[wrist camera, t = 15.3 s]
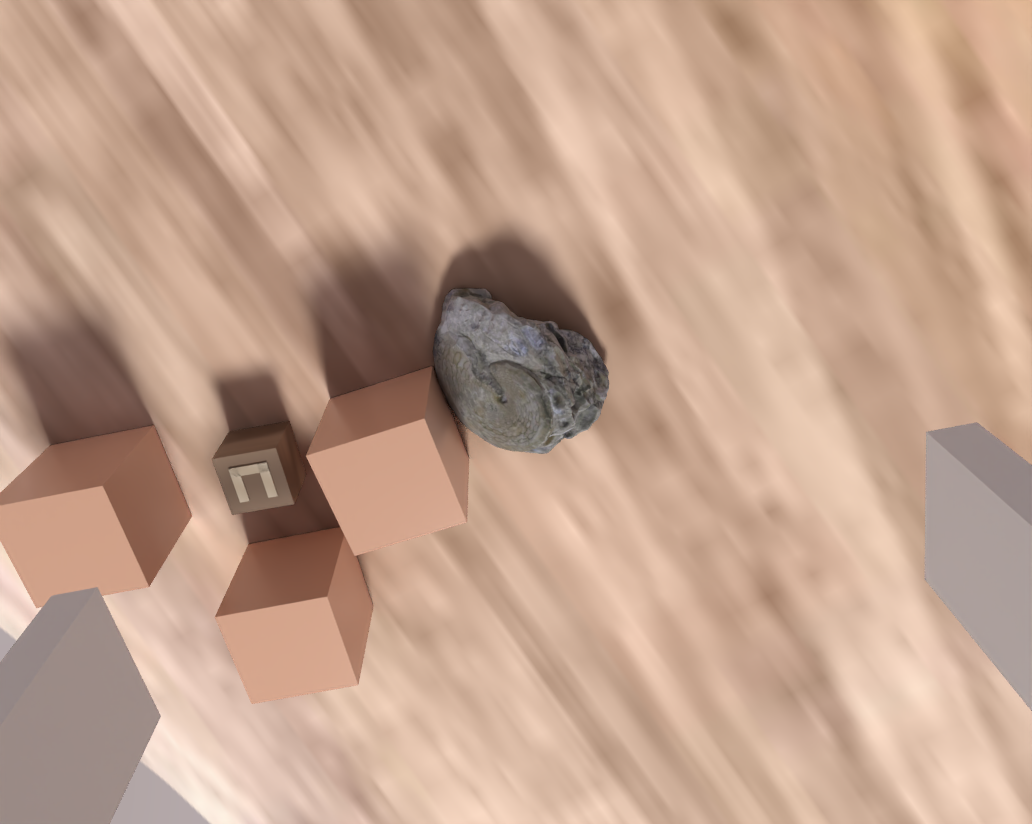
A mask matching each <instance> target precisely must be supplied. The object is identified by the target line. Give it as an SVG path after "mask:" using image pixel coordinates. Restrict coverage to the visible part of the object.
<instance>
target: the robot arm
mask: <svg viewBox="0 0 1032 824" xmlns="http://www.w3.org/2000/svg"><path fill="white" fill-rule="evenodd" d="M925 580H926V582H927V583H928V584H929V585H930V586H931V588H932V589H933V590H934V591H935V593H936V594H937V595H938V596H939V598H940V599H941V600H942V601H943V602H944V604H945V605H946V606H947V607H948V609H949V610H950V611H951V612H952V614H953V615H954V616H955V617H956V618H957V620H958V621H959V622H960V623H961V625H962V626H963V627H964V628H965V630H966V631H967V632H968V633H969V634H970V636H971V637H972V638H973V639H974V641H975V642H976V643H977V644H978V645H979V647H980V648H981V649H982V650H983V652H984V653H985V654H986V655H987V657H988V658H989V659H990V660H991V661H992V663H993V664H994V665H995V666H996V668H997V669H998V670H999V671H1000V673H1001V674H1002V675H1003V676H1004V677H1005V679H1006V680H1007V681H1008V682H1009V684H1010V685H1011V686H1012V687H1013V689H1014V690H1015V691H1016V692H1017V693H1018V695H1019V696H1020V697H1021V698H1022V700H1023V701H1024V702H1025V703H1026V705H1027V706H1028V707H1029V708H1030V709H1031V711H1032V465H1031V464H1029V463H1028V462H1027V461H1026V460H1024V459H1023V458H1022V457H1021V456H1019V455H1018V454H1017V453H1015V452H1014V451H1013V450H1012V449H1010V448H1009V447H1008V446H1006V445H1005V444H1004V443H1003V442H1001V441H1000V440H999V439H998V438H996V437H995V436H994V435H992V434H991V433H990V432H989V431H987V430H986V429H985V428H983V427H982V426H981V425H980V424H978V423H971V424H966V425H961V426H955V427H950V428H945V429H939V430H934V431H929V432H926V504H925ZM160 717H161V716H160V714H159V711H158V709H157V707H156V705H155V703H154V701H153V699H152V697H151V695H150V693H149V691H148V689H147V687H146V685H145V683H144V681H143V679H142V677H141V675H140V673H139V671H138V669H137V667H136V665H135V662H134V660H133V658H132V656H131V654H130V652H129V650H128V648H127V646H126V644H125V642H124V640H123V638H122V636H121V634H120V632H119V630H118V628H117V626H116V624H115V622H114V620H113V618H112V616H111V613H110V611H109V609H108V607H107V605H106V603H105V601H104V599H103V597H102V595H101V593H100V591H99V589H98V587H95V588H90V589H85V590H79V591H74V592H69V593H63V594H58V595H53V596H51V597H50V598H49V600H48V601H47V602H46V604H45V605H44V606H43V607H42V609H41V610H40V611H39V613H38V614H37V615H36V616H35V618H34V619H33V620H32V622H31V623H30V624H29V626H28V627H27V628H26V629H25V631H24V632H23V633H22V635H21V636H20V637H19V639H18V640H17V641H16V643H15V644H14V645H13V646H12V648H11V649H10V650H9V652H8V653H7V654H6V656H5V657H4V658H3V659H2V661H1V662H0V824H110V822H111V820H112V818H113V816H114V814H115V812H116V810H117V808H118V805H119V803H120V801H121V799H122V797H123V795H124V793H125V791H126V789H127V786H128V784H129V782H130V780H131V778H132V776H133V774H134V772H135V769H136V767H137V765H138V763H139V761H140V759H141V757H142V755H143V753H144V751H145V748H146V746H147V744H148V742H149V740H150V738H151V736H152V734H153V732H154V729H155V727H156V725H157V723H158V721H159V719H160Z"/></svg>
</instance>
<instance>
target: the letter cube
mask: <svg viewBox="0 0 1032 824" xmlns="http://www.w3.org/2000/svg"><path fill="white" fill-rule="evenodd" d="M212 461H213V464H214V467H215V469H216V472H217V475H218V478H219V480H220V483H221V486H222V488H223V491H224V494H225V497H226V499H227V502H228V505H229V508H230V510H231V513H232V515H235V514H240V513H246V512H252V511H258V510H264V509H269V508H275V507H281V506H287V505H293V504H295V501H296V499H297V496H298V494H299V491H300V489H301V486H302V484H303V482H304V479H305V477H306V472H305V469H304V465H303V462H302V459H301V456H300V453H299V450H298V446H297V443H296V440H295V437H294V434H293V431H292V427H291V424H290V421H287V422H281V423H275V424H270V425H264V426H258V427H253V428H247V429H241V430H236V431H230V432H229V433H228V435H227V436H226V438H225V439H224V441H223V443H222V444H221V446H220V447H219V449H218V450H217V452H216V453H215V455H214V457H213V458H212Z"/></svg>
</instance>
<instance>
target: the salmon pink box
mask: <svg viewBox="0 0 1032 824" xmlns="http://www.w3.org/2000/svg"><path fill="white" fill-rule="evenodd" d="M191 517H192V515H191V513H190V511H189V508H188V506H187V503H186V501H185V498H184V496H183V494H182V491H181V489H180V486H179V484H178V482H177V479H176V477H175V474H174V472H173V470H172V467H171V465H170V462H169V460H168V458H167V455H166V453H165V450H164V448H163V445H162V443H161V441H160V438H159V436H158V433H157V431H156V429H155V426H154V425H152V426H147V427H142V428H136V429H131V430H126V431H121V432H116V433H111V434H106V435H101V436H96V437H90V438H85V439H80V440H75V441H70V442H65V443H60V444H55V445H50V446H49V447H48V448H47V449H46V450H45V451H44V452H43V453H42V454H41V455H40V456H39V457H38V458H37V459H35V460H34V461H33V462H32V463H31V464H30V465H29V466H28V467H27V468H26V469H25V470H24V471H23V472H22V473H21V474H20V475H19V476H18V477H16V478H15V479H14V480H13V481H12V482H11V483H10V484H9V485H8V486H7V487H6V488H5V489H4V490H3V491H2V492H1V493H0V541H1V543H2V545H3V546H4V548H5V550H6V552H7V554H8V556H9V558H10V560H11V561H12V563H13V565H14V567H15V569H16V571H17V573H18V574H19V576H20V578H21V580H22V582H23V584H24V586H25V588H26V589H27V591H28V593H29V595H30V597H31V599H32V601H33V603H34V604H35V606H36V608H39V607H43V606H44V605H45V604H46V602H47V601H48V600H49V598H50V597H51V596H53V595H58V594H63V593H69V592H74V591H79V590H85V589H90V588H95V587H98V589H99V591H100V593H101V595H102V596H103V595H109V594H114V593H119V592H125V591H130V590H135V589H141V588H146V587H149V586H150V585H151V583H152V581H153V580H154V578H155V576H156V575H157V573H158V571H159V570H160V568H161V566H162V565H163V563H164V562H165V560H166V558H167V557H168V555H169V553H170V552H171V550H172V548H173V547H174V545H175V543H176V542H177V540H178V538H179V537H180V535H181V533H182V532H183V530H184V529H185V527H186V525H187V524H188V522H189V520H190V519H191Z"/></svg>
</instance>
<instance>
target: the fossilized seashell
mask: <svg viewBox="0 0 1032 824" xmlns="http://www.w3.org/2000/svg"><path fill="white" fill-rule="evenodd" d="M433 355H434V363H435V370H436V375H437V379H438V382H439V384H440V387H441V389H442V392H443V394H444V395H445V397H446V401H447V403H448V405H449V406H450V408H451V409H452V410H453V411H454V412H455V414H456V416H457V417H458V419H459V420H460V421H461V422H462V423H463V424H464V425H465V426H466V427H467V428H468V429H469V430H471V431H472V432H473V433H475V434H476V435H478V436H479V437H481V438H482V439H484V440H485V441H487V442H488V443H490V444H492V445H494V446H496V447H499V448H502V449H506V450H510V451H520V452H530V453H539V454H544V453H548V452H549V451H551V450H552V448H553V447H555V446H556V444H558V443H559V442H560V441H561V440H562V439H564V438H567V439H570V438H573V437H574V436H576V435H577V434H578V433H580V432H583V431H585V430H588V429H589V428H590V427H591V425H592V423H594V422H595V421H596V420H597V419H598V418H599V416H600V414H601V409H602V406H603V403H604V400H605V399H606V396H607V392H608V389H609V380H608V374H609V372H608V370H607V368H606V366H605V365H604V363H603V360H602V358H601V357H600V356H599V354H598V353H597V351H596V350H595V348H594V347H593V346H592V344H591V342H590V341H589V340H588V339H586V338H585V337H583V336H582V335H580V334H579V333H577V332H575V331H572V330H566V329H561V330H560V329H559V328H558V325H557V324H556V323H555V322H553V321H545V322H542V321H537V320H530V319H525V318H523V317H518V316H517V315H515V314H514V312H511V311H510V310H509V309H508V307H507V306H506V305H505V304H504V303H503V302H500V301H494V300H492V297H491V294H490V293H489V292H488V291H487V290H486V289H473V288H464V289H452V290H451V291H450V292H449V293H448V294H447V295H446V297H445V300H444V303H443V308H442V316H441V323H440V325H439V327H438V329H437V331H436V334H435V339H434V347H433Z"/></svg>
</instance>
